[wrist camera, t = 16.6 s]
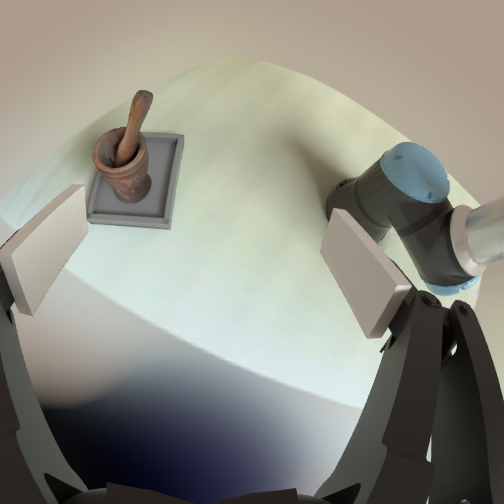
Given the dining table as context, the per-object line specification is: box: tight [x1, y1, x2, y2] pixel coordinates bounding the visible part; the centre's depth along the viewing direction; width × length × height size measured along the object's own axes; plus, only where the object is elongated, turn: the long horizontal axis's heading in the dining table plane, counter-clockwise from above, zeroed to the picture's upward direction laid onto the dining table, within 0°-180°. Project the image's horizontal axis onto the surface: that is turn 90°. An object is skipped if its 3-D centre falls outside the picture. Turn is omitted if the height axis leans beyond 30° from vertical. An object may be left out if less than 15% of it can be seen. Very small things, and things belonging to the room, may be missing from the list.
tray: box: [86, 133, 184, 230], centre depth 48 cm, size 16×19×3 cm
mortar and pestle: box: [92, 90, 153, 204], centre depth 39 cm, size 12×9×20 cm
